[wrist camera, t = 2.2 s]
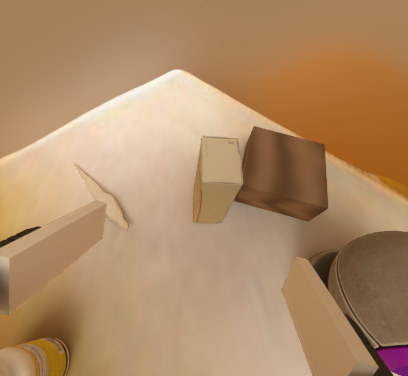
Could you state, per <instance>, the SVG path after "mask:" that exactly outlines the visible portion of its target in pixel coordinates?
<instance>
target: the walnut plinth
mask: <svg viewBox="0 0 408 376" xmlns="http://www.w3.org/2000/svg"><path fill="white" fill-rule="evenodd" d="M242 173H243V185H242V187H241V188H240V190H239V192H238V193H237V195H236V198H235V201H236V202H240V203H244V204H247V205H251V206H255V207H258V208H262V209H266V210H269V211H273V212H277V213H280V214H284V215H288V216H291V217H295V218H299V219H302V220H306V221H310V220H311V219H313V218H314V217H316V216H317V215H319V214H320V213H322V212H323V211H325V210H326V209H328V197H327V179H326V161H325V145H324V144H320V143H316V142H313V141H309V140H305V139H301V138H297V137H293V136H290V135H286V134H282V133H278V132H274V131H270V130H266V129H263V128H259V127H255V126H254V128H253V130H252V132H251V135H250V137H249V140H248V142H247V145H246V148H245V153H244V158H243V163H242Z"/></svg>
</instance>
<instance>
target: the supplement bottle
mask: <svg viewBox="0 0 408 376" xmlns="http://www.w3.org/2000/svg"><path fill="white" fill-rule="evenodd" d="M68 366H69V352H68V349H67V347H66V345H65V344H64V343H63V342H62V341H61V340H59V339H57V338H52V337H48V338H42V339H38V340H34V341H30V342H26V343H22V344H19V345H15V346H11V347H7V348H3V349H0V376H66V374H67V370H68Z"/></svg>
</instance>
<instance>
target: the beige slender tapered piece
mask: <svg viewBox="0 0 408 376" xmlns="http://www.w3.org/2000/svg"><path fill="white" fill-rule="evenodd" d="M74 166H75V167H76V169H77V170H78V172H79V174H80V176H81V178H82V179H83V181H84V182H85V184H86V186H87V188H88V190H89V191H90V193H91V194H92V196H93V197H94V198H95V199H96V200H98V201H101V202H105V203H107V206H106V213H105V215H106V216H108V218H109V219H110V220H111V221H115V222H117V223H118V224H119V225H120V227H121V228H123V229H126V230H127V229H128V227H129V225H128V223H127V222H126V221H125V219H124V218H123V211H122V210H121V209H120V208H119V205H118V203H117V200H116V199H115V198H114V197H113V195H111V194H109V193H105V192H104V190H103V189H102V188H101V187H100V186H99V185H98V184H97V183H96V182H95V181H93V180H92V179H91V178H90V177H89V176H88V175H87V174H85V173H84V172H83V171H82V170H81V169H80V168H79V167H78V166H77V165H76V164H74Z"/></svg>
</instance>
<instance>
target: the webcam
mask: <svg viewBox="0 0 408 376" xmlns="http://www.w3.org/2000/svg"><path fill="white" fill-rule="evenodd" d="M308 261H309V262H310V264H311V265H312V267H313V268H314V270H315V271H316V273H317V274H318V276H319V277H320V279H321V280H322V282H323V283H324V285H325V286H326V288H327V289H328V291H329V293H330V294H331V296H332V297H333V299H334V300H335V302H336V303H337V305H338V306H339V308H340V309H341V311H342V312H343V313H344V314H348V315H349V316H350V317H351V318H352V319H353V320H354V321H355V322H356V323H357V324H358V325H359V327H360V328H361V330H362V331H363V333H364V334H365V337H367V338H368V340H369V341H370V343H371V345H372V346H373V347H374V348H375V350H376V351H377V353H378V354H379V356H380V357H381V359H382V360H383V361H384V363H385V364H386V366H387V367H388V369H389V370H390V371H391V372H393V373H396V374H398V375H401V376H408V232H402V231H384V232H376V233H371V234H367V235H364V236H362V237H359V238H357V239H355V240H353V241H351V242H350V243H348V244H347V245H346V246H345V247H343V248H342V249H341V250H328V251H324V252H321V253H319V254H316V255H314V256H313V257H312V258H310V259H309V260H308Z"/></svg>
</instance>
